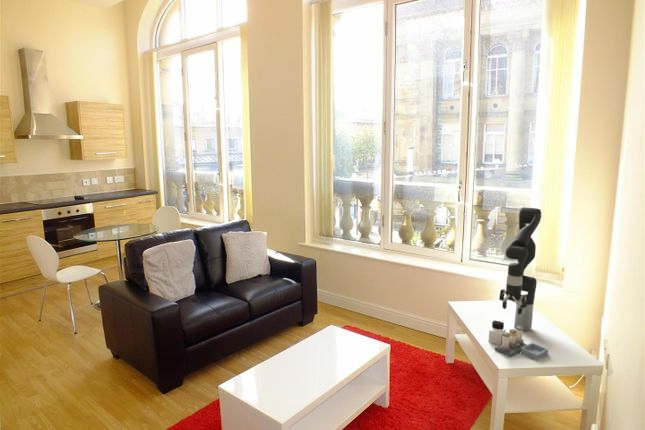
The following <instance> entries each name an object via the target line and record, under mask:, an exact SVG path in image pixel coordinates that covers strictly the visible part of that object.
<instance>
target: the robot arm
mask: <svg viewBox="0 0 645 430" xmlns="http://www.w3.org/2000/svg"><path fill="white" fill-rule="evenodd" d="M541 220H542V211H541V209H540V208H538V207H537V208H536V207H535V208H534V207H520V209H519V212H518V227H519V228H518V231H517V233H516V235H515V237H514V240H513V241H512V242H511V243H509V245H508V246H507V248H506V250H505V256H506V258H508V259H511V260H516V261H517V262H512V263H509V264H508V267H507V276H506V283H505V284H506V288H503V289H501V290H500V292H499V300H500V301H501V302H502V306H501V307H502V309H503V310H505V309H507V306H508V305H507V304H508V302H507V301H512V302H514V303H515V314H514V315H515V316H514V325H513V329H514V330H516V326H521V327H523V332H524V333H528V332H531V330H532V326H533V325H532V323H533V315H534V314H533V313H534V304H535V297H536V296H535V295H536V290H537V284H538V283H537V279H536V278H535V277H534V276H529V275H524V274H525V273H524V272H525V270H526V268H527V267H528V266H529V264H531V263H532V261H534V259H535V258H536V251H537V247H536V246H537V245H536V243H535V240H534V239H533V238H532V236H533V234H534V233H535V231H536V229H537V228H538V226H539V225H540V222H541ZM522 291H523V292H525V294H522ZM505 295H506V296H505Z"/></svg>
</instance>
